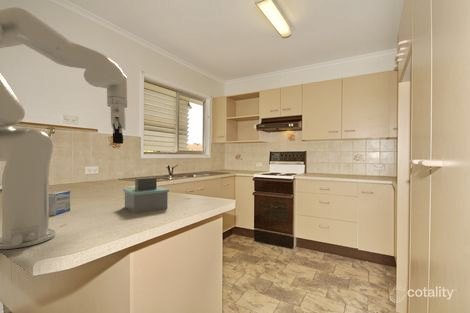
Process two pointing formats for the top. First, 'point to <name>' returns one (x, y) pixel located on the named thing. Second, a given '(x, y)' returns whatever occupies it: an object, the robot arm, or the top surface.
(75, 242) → the top surface
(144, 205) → the bin
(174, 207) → the top surface
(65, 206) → the medicine box
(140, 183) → the lid
